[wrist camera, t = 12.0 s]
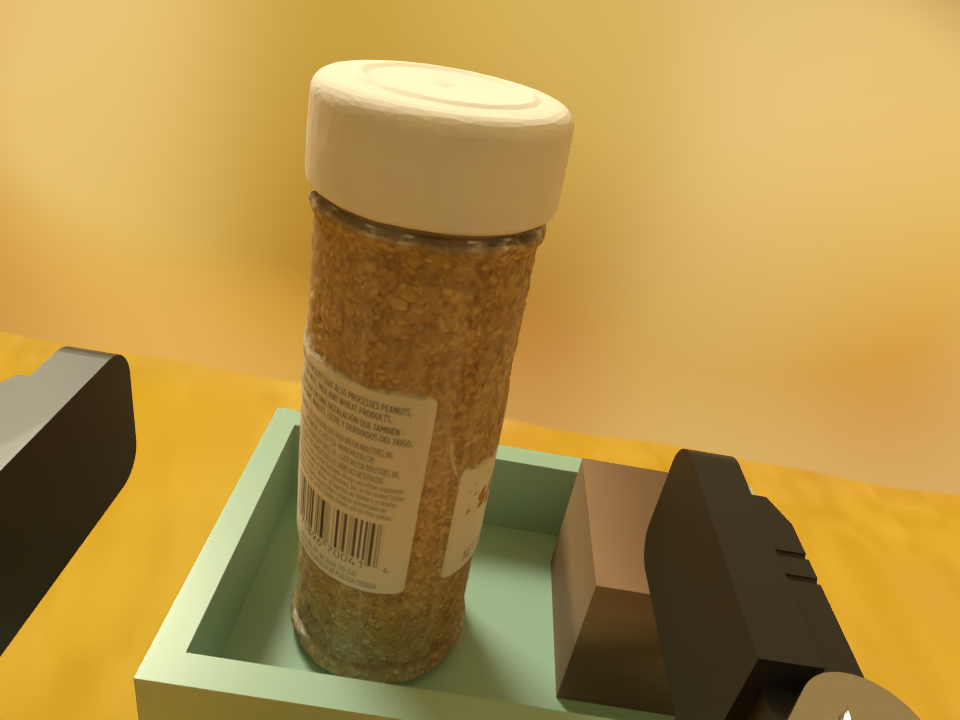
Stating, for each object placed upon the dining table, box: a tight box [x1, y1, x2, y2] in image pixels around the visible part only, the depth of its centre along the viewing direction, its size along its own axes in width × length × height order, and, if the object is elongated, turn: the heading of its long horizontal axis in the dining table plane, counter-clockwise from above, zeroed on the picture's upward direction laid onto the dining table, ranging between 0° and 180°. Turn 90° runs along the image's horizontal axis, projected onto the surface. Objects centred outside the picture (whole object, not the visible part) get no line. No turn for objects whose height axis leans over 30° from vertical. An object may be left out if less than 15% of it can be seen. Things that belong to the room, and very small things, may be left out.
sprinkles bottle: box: [290, 60, 574, 684], centre depth 16 cm, size 5×5×14 cm
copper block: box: [551, 458, 675, 716], centre depth 19 cm, size 4×4×4 cm
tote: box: [134, 407, 754, 720], centre depth 19 cm, size 15×9×3 cm, turn 87°
